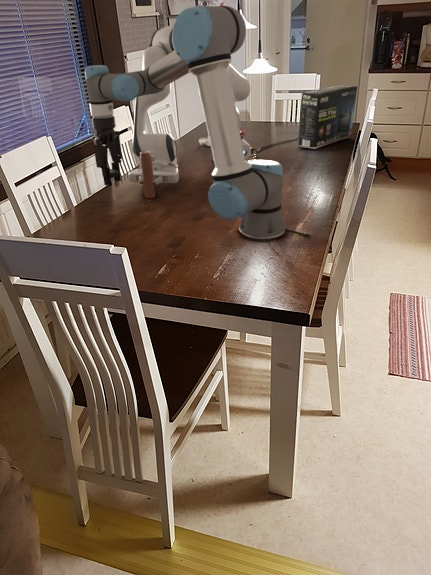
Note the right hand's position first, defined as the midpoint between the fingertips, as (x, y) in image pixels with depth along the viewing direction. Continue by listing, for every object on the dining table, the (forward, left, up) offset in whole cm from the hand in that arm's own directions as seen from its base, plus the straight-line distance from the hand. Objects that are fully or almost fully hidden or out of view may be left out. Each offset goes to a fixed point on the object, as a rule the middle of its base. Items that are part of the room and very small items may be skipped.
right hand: (112, 182), depth 167 cm
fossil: (+14, -98, -10) cm, 99 cm away
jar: (-3, -16, -10) cm, 20 cm away
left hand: (-4, -16, -4) cm, 17 cm away
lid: (0, 0, +4) cm, 4 cm away
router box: (-40, -123, -10) cm, 129 cm away
